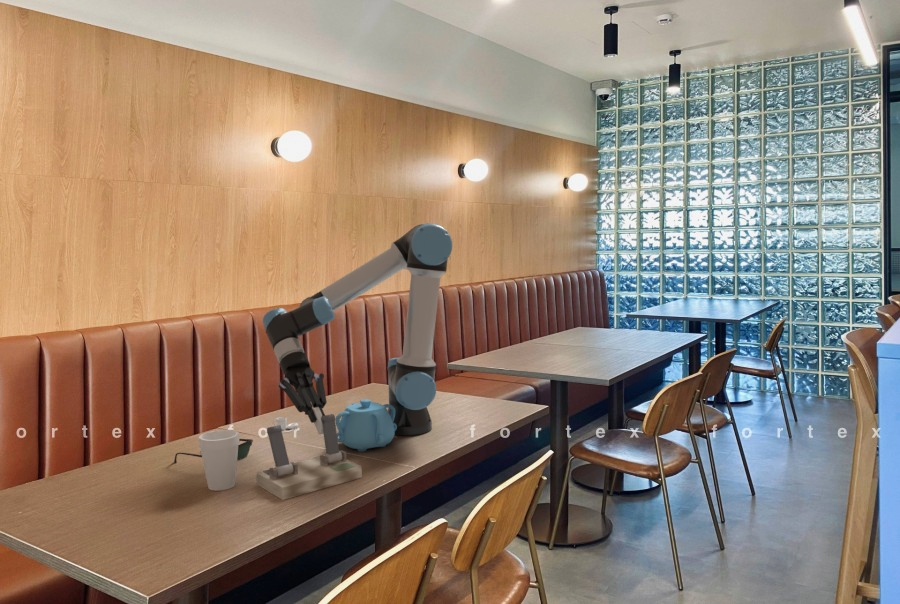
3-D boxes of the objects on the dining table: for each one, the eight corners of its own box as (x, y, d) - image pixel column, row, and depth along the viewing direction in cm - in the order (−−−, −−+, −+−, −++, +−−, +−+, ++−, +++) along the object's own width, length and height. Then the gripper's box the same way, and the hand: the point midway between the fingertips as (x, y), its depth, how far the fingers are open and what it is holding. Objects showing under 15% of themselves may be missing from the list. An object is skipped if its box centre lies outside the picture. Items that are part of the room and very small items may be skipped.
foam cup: (199, 494, 168) (197, 442, 167) (202, 481, 177) (200, 431, 176) (241, 490, 171) (238, 438, 169) (241, 477, 179) (239, 428, 178)
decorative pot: (354, 435, 215) (352, 392, 214) (402, 439, 210) (401, 395, 209) (329, 451, 200) (327, 405, 198) (380, 456, 195) (379, 408, 193)
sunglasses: (208, 449, 205) (207, 432, 204) (254, 456, 198) (254, 438, 197) (165, 467, 190) (164, 449, 189) (213, 474, 183) (212, 456, 182)
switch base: (333, 464, 189) (332, 444, 188) (361, 477, 178) (361, 456, 177) (256, 484, 174) (255, 463, 174) (282, 499, 164) (281, 477, 163)
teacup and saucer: (300, 427, 226) (300, 415, 226) (292, 434, 219) (292, 421, 218) (274, 427, 227) (273, 414, 227) (265, 434, 219) (264, 421, 219)
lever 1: (290, 473, 173) (278, 426, 176) (294, 471, 171) (282, 423, 174) (275, 477, 171) (264, 429, 173) (279, 475, 169) (267, 426, 172)
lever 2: (338, 460, 182) (332, 413, 183) (342, 460, 181) (336, 413, 181) (324, 463, 180) (318, 416, 180) (329, 464, 178) (323, 416, 179)
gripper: (309, 363, 199) (340, 433, 188) (265, 369, 190) (295, 443, 180) (317, 347, 194) (350, 419, 183) (274, 353, 186) (305, 428, 175)
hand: (323, 431), depth 182 cm, fingers closed
